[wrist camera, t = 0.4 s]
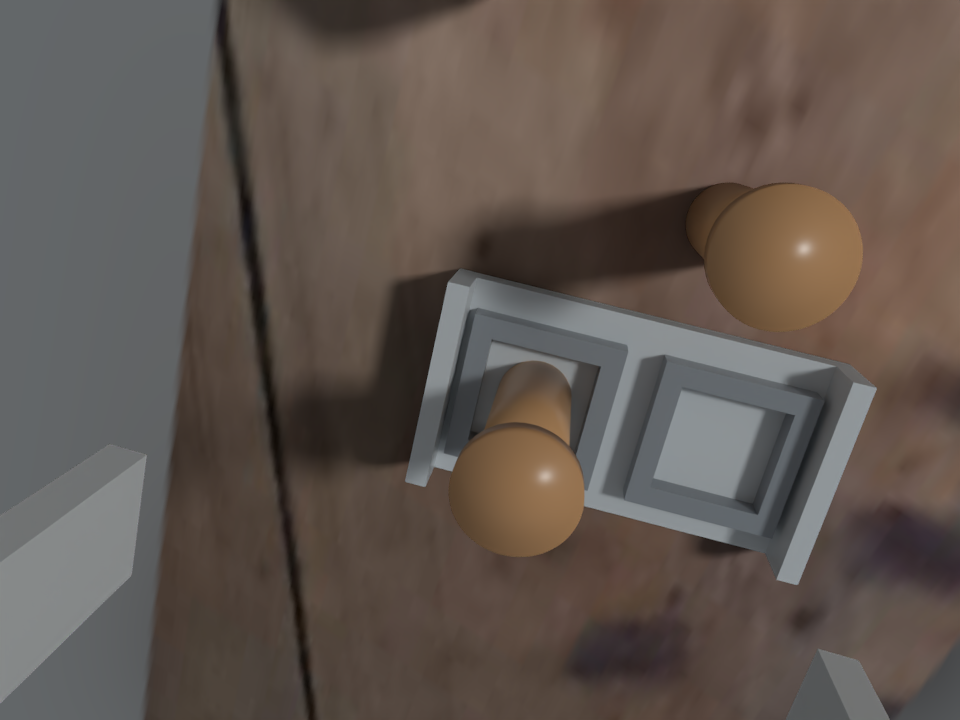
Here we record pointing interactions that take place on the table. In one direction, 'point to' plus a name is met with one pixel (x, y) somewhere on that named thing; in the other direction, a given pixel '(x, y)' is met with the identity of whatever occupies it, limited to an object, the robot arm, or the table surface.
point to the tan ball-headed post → (776, 252)
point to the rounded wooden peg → (521, 467)
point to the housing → (655, 413)
